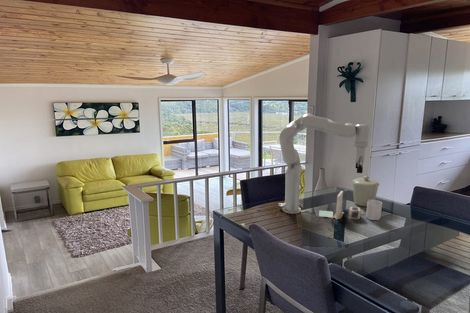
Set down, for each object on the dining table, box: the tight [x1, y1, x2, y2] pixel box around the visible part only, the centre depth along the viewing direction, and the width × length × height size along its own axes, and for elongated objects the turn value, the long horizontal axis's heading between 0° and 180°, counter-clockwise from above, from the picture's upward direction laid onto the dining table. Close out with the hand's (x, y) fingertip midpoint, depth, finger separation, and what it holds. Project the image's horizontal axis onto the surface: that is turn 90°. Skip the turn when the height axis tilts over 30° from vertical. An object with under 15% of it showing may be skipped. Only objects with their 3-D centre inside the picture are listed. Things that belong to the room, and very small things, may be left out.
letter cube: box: [348, 206, 361, 220], centre depth 219 cm, size 6×6×6 cm
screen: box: [332, 190, 345, 220], centre depth 219 cm, size 4×11×16 cm, turn 150°
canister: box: [351, 175, 380, 208], centre depth 238 cm, size 18×18×21 cm
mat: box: [318, 209, 334, 219], centre depth 223 cm, size 9×9×1 cm
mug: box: [365, 199, 383, 221], centre depth 218 cm, size 12×9×11 cm
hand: (358, 170), depth 211 cm, fingers open, 9 cm apart
